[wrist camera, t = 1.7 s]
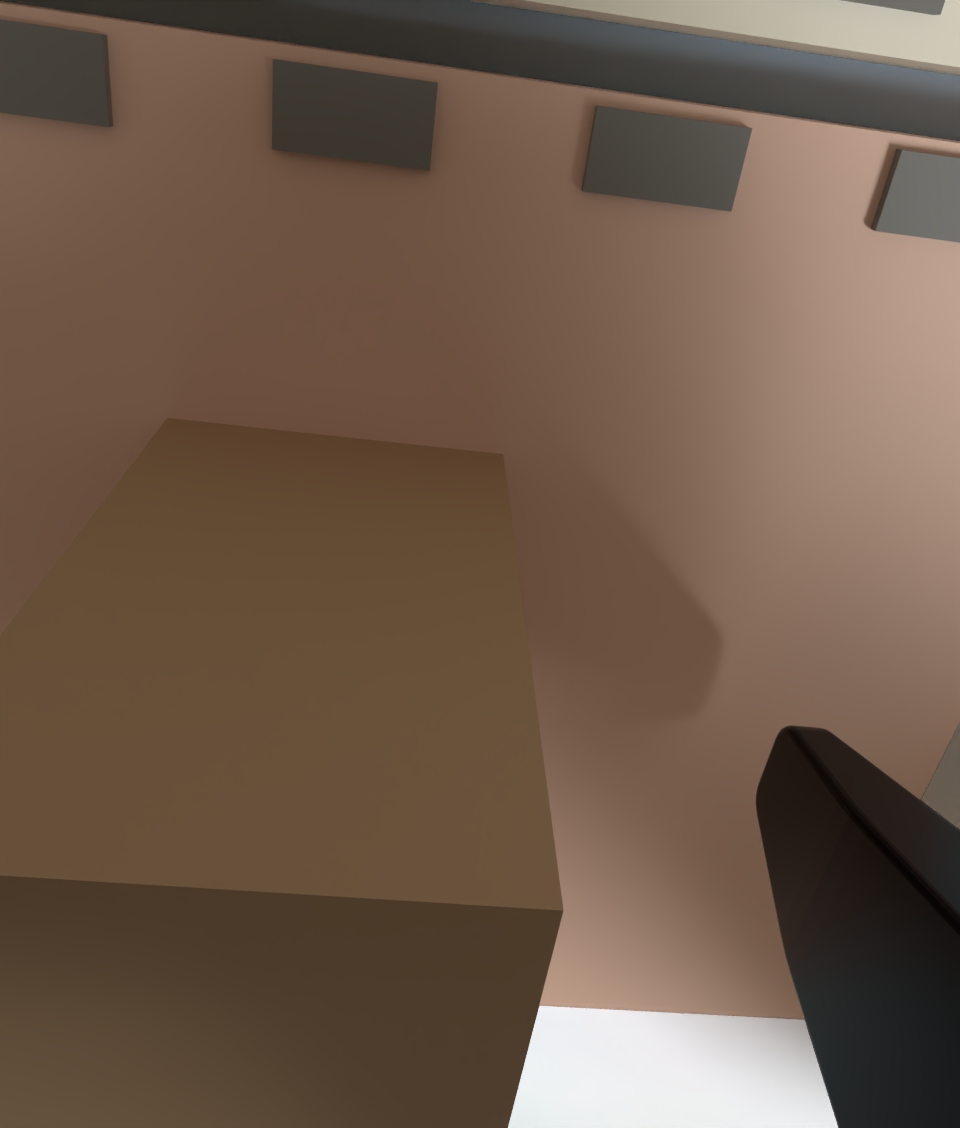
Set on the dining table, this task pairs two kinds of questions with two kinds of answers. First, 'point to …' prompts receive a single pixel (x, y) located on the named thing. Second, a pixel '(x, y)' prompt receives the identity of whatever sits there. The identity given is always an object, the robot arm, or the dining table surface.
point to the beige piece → (433, 557)
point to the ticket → (795, 25)
